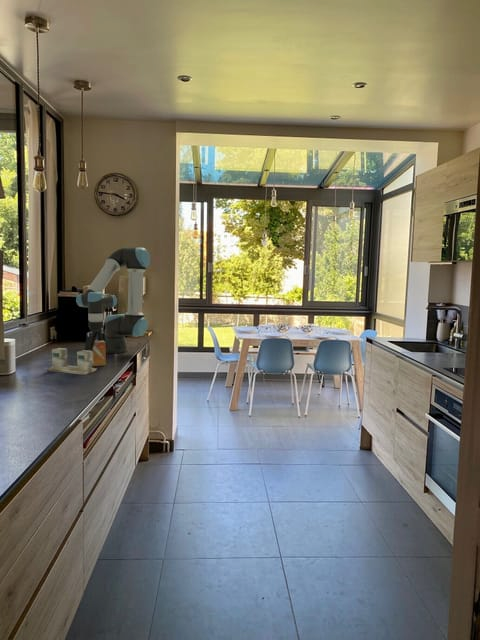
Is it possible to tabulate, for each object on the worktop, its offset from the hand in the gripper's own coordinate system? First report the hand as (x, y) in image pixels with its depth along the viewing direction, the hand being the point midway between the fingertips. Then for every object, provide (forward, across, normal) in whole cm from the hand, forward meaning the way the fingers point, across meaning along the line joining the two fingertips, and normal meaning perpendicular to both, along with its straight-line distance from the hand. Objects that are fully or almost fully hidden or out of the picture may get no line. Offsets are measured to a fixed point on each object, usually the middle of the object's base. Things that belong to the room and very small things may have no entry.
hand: (96, 361), depth 238 cm
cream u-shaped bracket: (+2, +15, -4) cm, 16 cm away
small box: (+2, 0, 0) cm, 2 cm away
